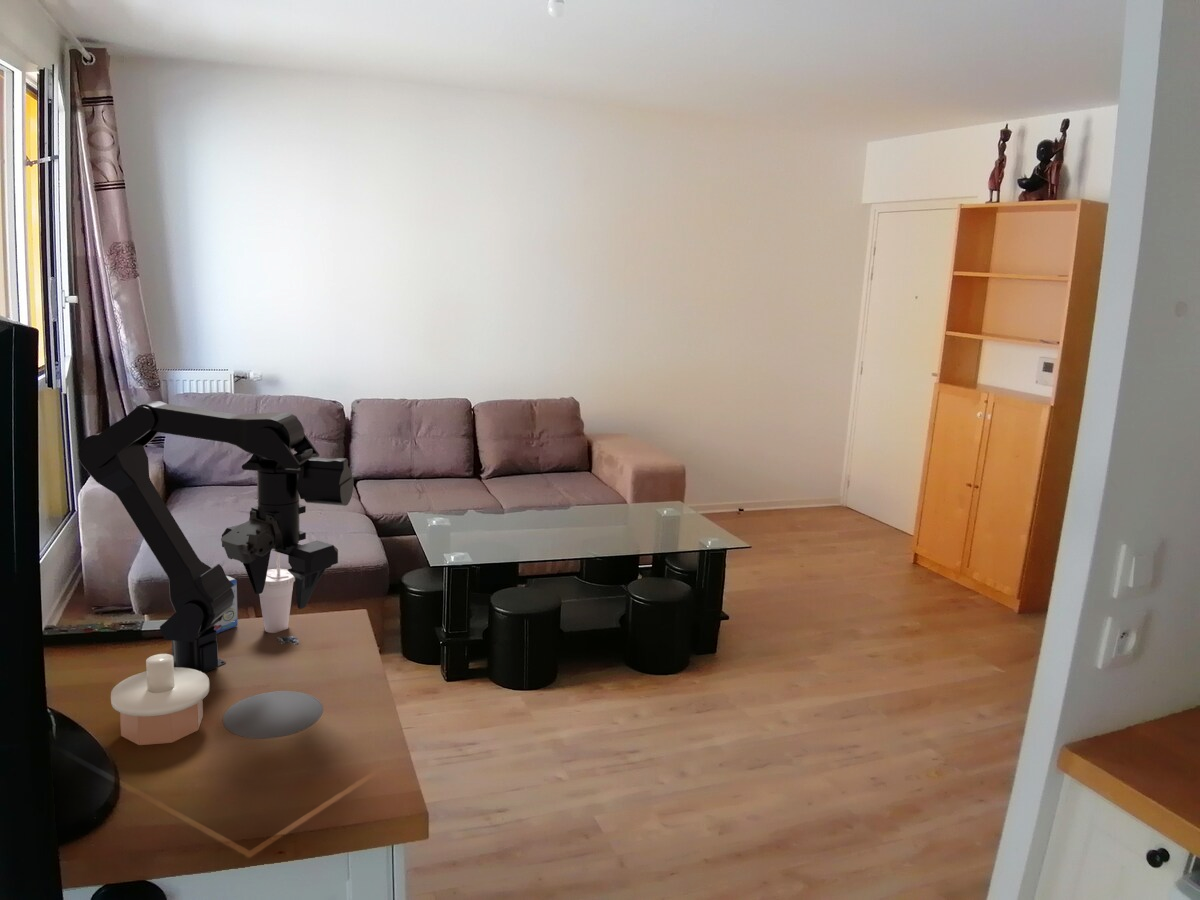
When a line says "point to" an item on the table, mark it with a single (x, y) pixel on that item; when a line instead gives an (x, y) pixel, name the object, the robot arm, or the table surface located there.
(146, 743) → the bowl
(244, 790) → the table surface
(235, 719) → the mat
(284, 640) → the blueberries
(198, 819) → the table surface
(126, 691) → the lid
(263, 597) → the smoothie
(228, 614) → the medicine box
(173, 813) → the table surface
